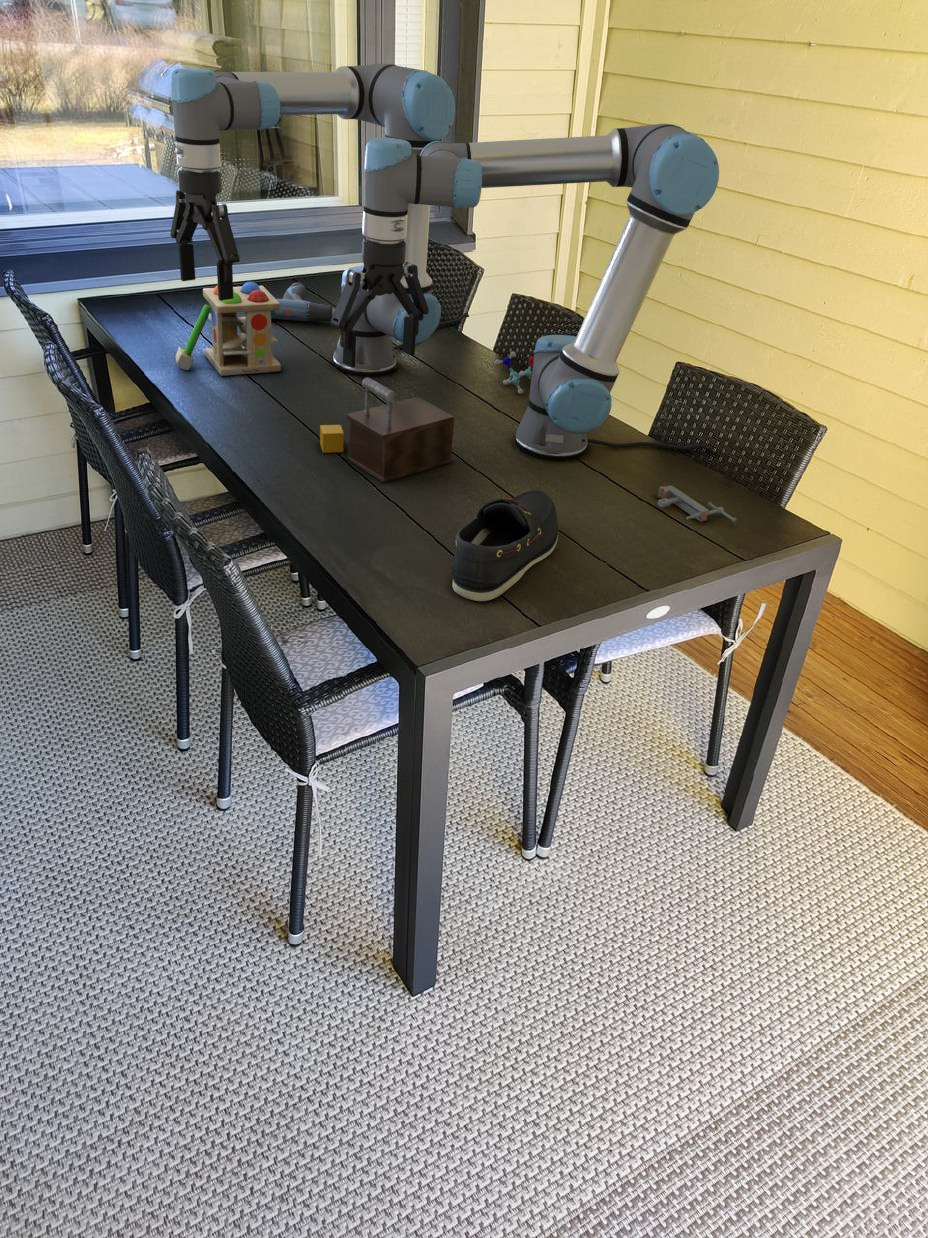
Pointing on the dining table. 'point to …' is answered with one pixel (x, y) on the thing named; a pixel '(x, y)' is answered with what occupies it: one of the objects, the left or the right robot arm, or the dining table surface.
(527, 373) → the molecular model
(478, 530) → the boat shoe
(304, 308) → the power drill
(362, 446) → the chest
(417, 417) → the lid
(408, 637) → the dining table surface
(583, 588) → the dining table surface
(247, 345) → the pounding bench toy
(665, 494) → the clamp
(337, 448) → the block
